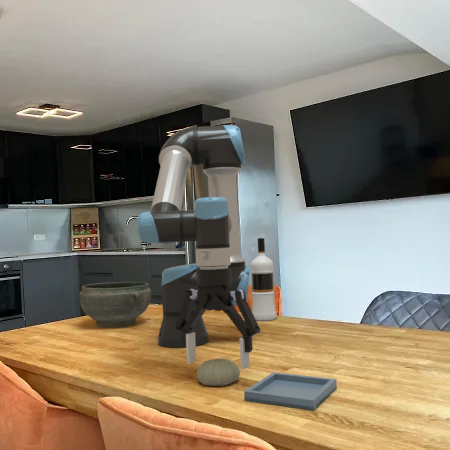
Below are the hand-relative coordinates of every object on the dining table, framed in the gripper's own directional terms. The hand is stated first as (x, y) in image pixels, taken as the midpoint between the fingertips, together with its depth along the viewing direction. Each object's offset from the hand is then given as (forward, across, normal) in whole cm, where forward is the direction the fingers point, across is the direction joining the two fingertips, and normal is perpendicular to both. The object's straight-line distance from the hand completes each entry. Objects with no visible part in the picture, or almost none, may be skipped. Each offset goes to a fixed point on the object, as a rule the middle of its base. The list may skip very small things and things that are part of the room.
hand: (217, 364), depth 111 cm
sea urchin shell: (+4, 0, 0) cm, 4 cm away
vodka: (+3, -23, +74) cm, 78 cm away
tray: (+4, +18, -2) cm, 18 cm away
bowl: (+3, -72, +49) cm, 87 cm away
